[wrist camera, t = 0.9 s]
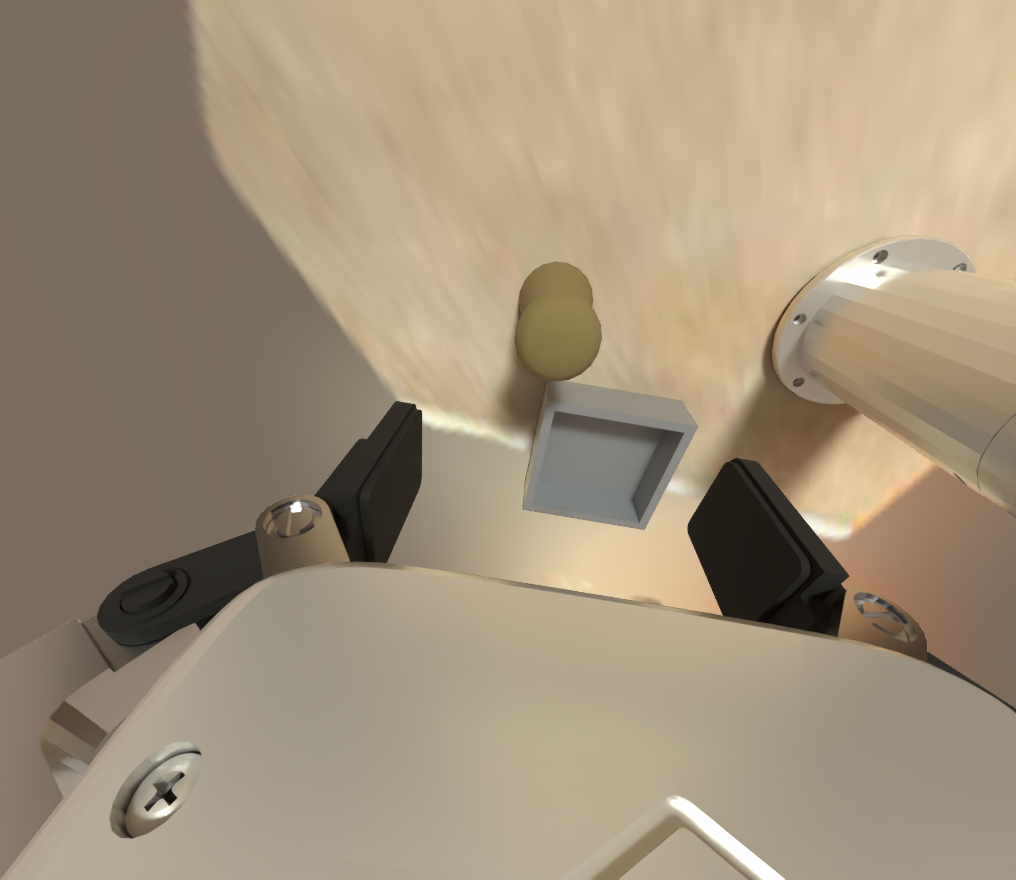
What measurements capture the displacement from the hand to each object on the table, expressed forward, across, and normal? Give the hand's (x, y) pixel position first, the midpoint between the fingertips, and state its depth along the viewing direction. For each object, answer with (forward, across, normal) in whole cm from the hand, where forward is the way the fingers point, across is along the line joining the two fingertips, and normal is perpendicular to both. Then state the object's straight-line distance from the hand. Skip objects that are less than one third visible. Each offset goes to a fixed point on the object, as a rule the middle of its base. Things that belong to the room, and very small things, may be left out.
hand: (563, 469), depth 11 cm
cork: (+22, 0, 0) cm, 22 cm away
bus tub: (+22, -7, +13) cm, 27 cm away
